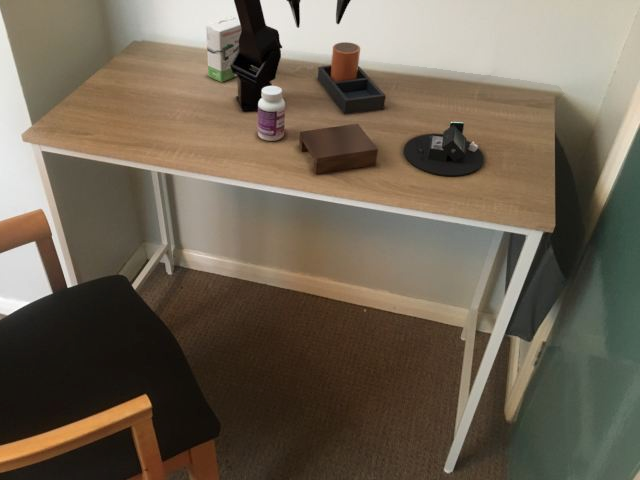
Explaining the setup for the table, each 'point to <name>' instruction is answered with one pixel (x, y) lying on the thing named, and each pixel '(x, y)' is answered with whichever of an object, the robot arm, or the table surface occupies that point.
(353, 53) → the cup
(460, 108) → the table surface
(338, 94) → the tray
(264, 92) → the pill bottle
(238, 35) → the ink box
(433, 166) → the black round base
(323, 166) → the brown wooden riser
